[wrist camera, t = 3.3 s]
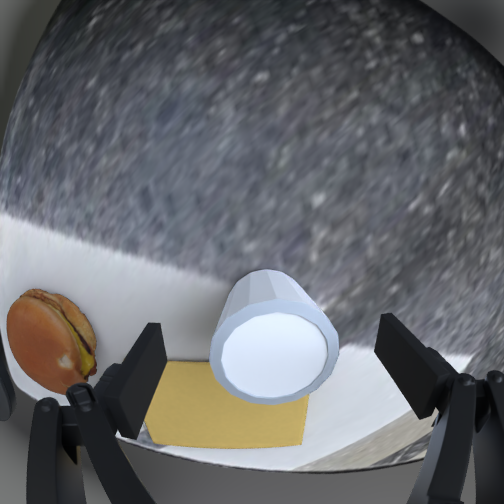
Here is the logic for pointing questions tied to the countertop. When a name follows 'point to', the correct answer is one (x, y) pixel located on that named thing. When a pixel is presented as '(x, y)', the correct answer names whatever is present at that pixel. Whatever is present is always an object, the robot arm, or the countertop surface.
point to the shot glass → (272, 341)
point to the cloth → (217, 413)
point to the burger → (51, 340)
